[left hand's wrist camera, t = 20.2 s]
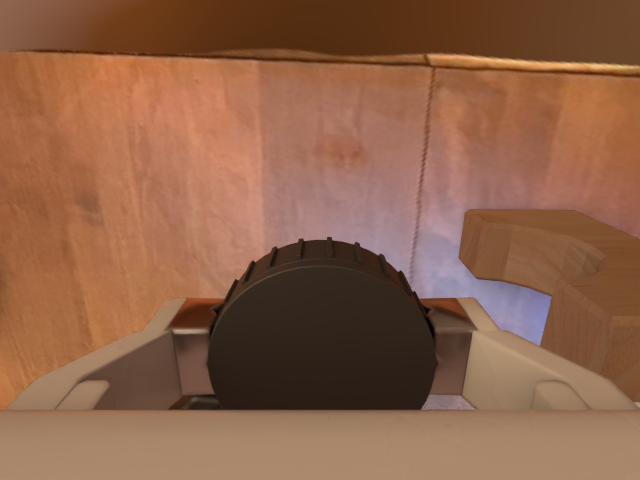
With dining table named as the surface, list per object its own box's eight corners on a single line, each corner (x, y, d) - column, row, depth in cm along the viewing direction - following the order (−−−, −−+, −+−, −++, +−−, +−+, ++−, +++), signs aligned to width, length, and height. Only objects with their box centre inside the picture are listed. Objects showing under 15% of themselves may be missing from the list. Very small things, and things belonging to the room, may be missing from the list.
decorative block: (455, 259, 39) (579, 406, 20) (464, 206, 37) (611, 315, 18) (561, 262, 39) (781, 410, 21) (576, 209, 37) (834, 321, 19)
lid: (194, 366, 10) (171, 412, 9) (271, 199, 9) (261, 219, 7) (361, 433, 11) (367, 487, 9) (459, 290, 10) (486, 325, 8)
